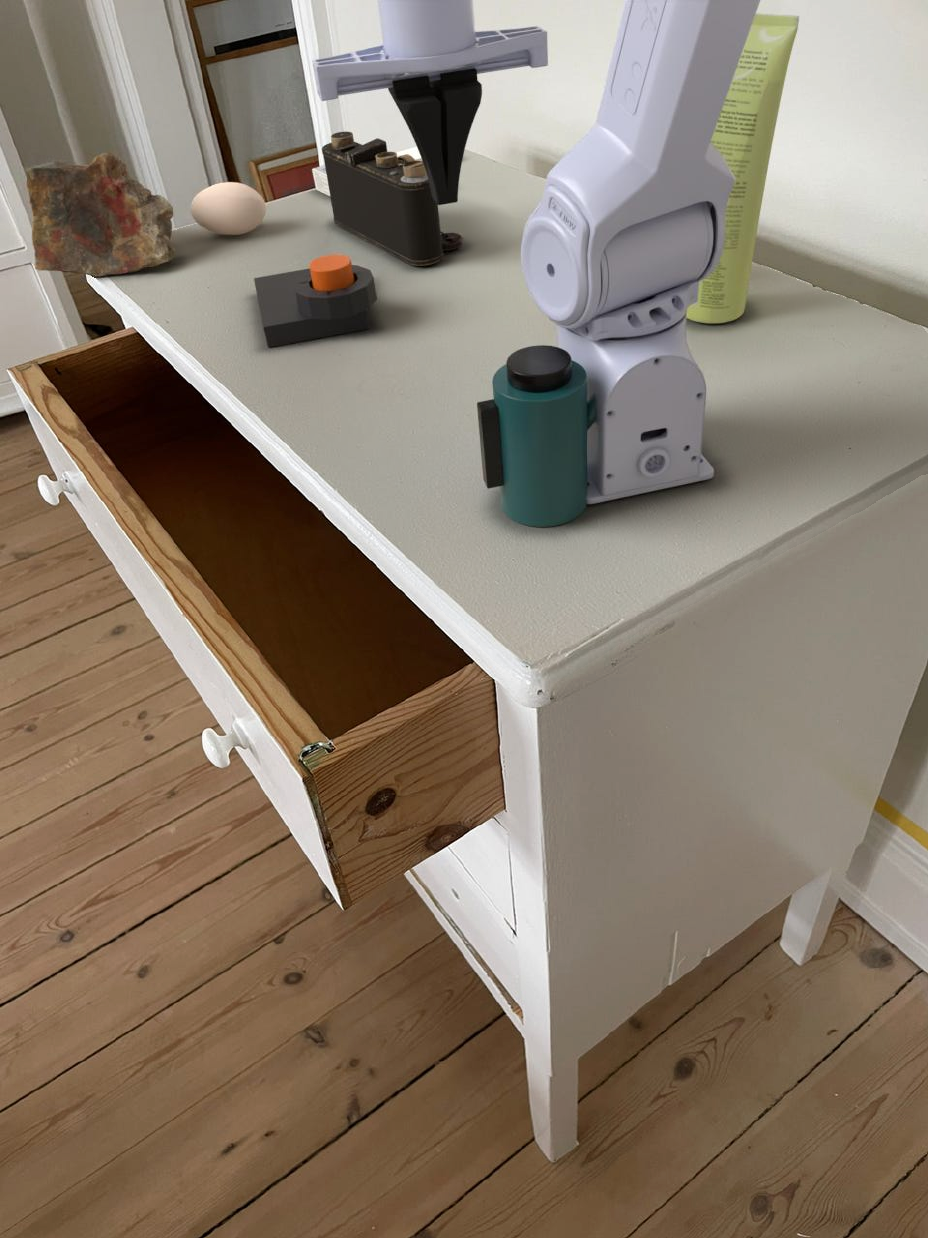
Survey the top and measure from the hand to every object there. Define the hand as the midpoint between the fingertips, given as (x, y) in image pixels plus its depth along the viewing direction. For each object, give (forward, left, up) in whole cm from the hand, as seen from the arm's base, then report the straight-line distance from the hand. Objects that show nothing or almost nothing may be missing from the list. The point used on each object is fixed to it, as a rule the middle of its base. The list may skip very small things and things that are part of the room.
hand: (444, 199), depth 66 cm
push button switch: (+10, +10, -10) cm, 18 cm away
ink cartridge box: (+35, +4, -9) cm, 36 cm away
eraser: (+46, -8, -11) cm, 48 cm away
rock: (+32, +24, -10) cm, 41 cm away
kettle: (-22, 0, -10) cm, 24 cm away
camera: (+23, 0, -10) cm, 25 cm away
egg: (+30, +12, -8) cm, 33 cm away
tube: (-3, -19, -11) cm, 22 cm away
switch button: (+7, +8, -7) cm, 13 cm away
